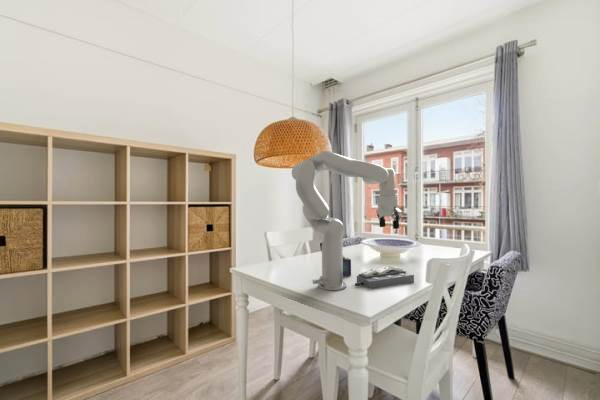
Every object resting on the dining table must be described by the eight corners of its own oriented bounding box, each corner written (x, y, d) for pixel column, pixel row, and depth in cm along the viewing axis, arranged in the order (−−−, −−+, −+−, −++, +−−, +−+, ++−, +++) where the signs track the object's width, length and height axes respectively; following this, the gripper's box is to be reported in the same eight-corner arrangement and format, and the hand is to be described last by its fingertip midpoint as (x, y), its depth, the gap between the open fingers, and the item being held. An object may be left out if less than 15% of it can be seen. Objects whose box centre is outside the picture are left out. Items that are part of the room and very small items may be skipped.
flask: (333, 275, 146) (333, 255, 146) (334, 273, 148) (334, 254, 148) (350, 276, 143) (350, 256, 143) (351, 275, 145) (351, 255, 145)
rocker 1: (366, 276, 128) (365, 274, 128) (361, 274, 131) (361, 272, 131) (376, 272, 130) (376, 269, 130) (371, 270, 134) (371, 267, 134)
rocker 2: (380, 274, 131) (379, 272, 131) (375, 273, 135) (374, 270, 134) (390, 270, 134) (389, 267, 133) (384, 268, 137) (384, 266, 137)
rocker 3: (393, 269, 134) (393, 267, 134) (388, 268, 138) (388, 265, 138) (402, 271, 137) (403, 269, 137) (397, 270, 140) (397, 267, 140)
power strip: (362, 290, 121) (362, 280, 121) (349, 284, 130) (349, 275, 130) (414, 281, 133) (413, 273, 133) (399, 276, 142) (398, 268, 142)
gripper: (370, 194, 143) (372, 227, 144) (393, 193, 127) (395, 230, 128) (381, 193, 146) (383, 225, 147) (406, 192, 130) (408, 228, 131)
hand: (389, 227), depth 137 cm, fingers open, 9 cm apart
